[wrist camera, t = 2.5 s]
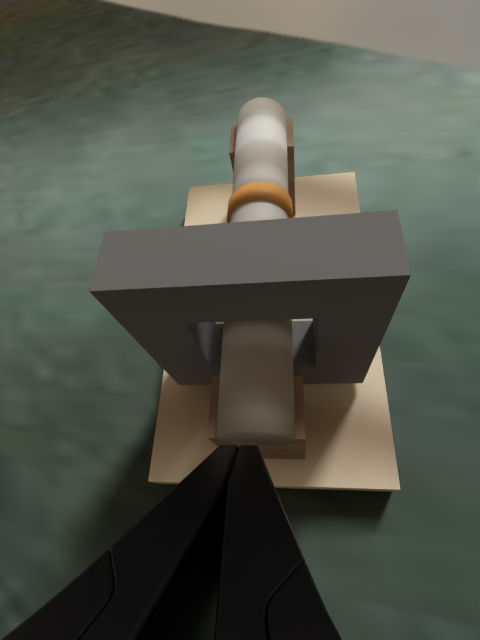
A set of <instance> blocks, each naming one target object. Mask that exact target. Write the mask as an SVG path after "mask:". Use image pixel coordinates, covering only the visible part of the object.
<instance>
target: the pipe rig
mask: <svg viewBox="0 0 480 640" xmlns="http://www.w3.org/2000/svg"><path fill="white" fill-rule="evenodd" d="M229 154H230V158H231V163H232V168H233V173H234V175H233V183H229V184H218V185H208V186H197V187H190V188H189V195H188V202H187V209H186V216H185V223H184V226H192V225H205V224H218V223H231V222H245V221H258V220H271V219H284V218H298V217H311V216H324V215H337V214H351V213H360V208H359V201H358V194H357V187H356V180H355V173H354V172H349V173H339V174H328V175H317V176H306V177H295V175H294V141H293V118H290V119H286V114H285V111H284V109H283V108H282V106H281V105H280V104H279V103H278V102H276V101H274V100H272V99H270V98H263V97H262V98H255V99H252V100H250V101H248V102H247V103H246V104H244V106H243V107H242V108H241V109H240V111H239V114H238V117H237V125H231V138H230V151H229ZM292 321H313V319H288V320H259V321H230V322H215V323H216V324H223V339H222V354H221V369H220V376H212V384H211V385H178V384H177V383H176V381H175V380H174V379H173V378H172V377H171V376H170V375H169V374H168V373H167V372H166V371H165V370H164V372H163V379H162V387H161V394H160V401H159V408H158V415H157V422H156V429H155V436H154V443H153V450H152V458H151V465H150V472H149V479H148V481H149V482H153V483H158V484H172V485H177V484H179V483H180V482H181V481H182V480H183V479H184V478H185V477H186V476H187V475H188V474H189V473H190V472H191V471H193V470H194V469H195V468H196V467H197V466H198V465H199V464H200V463H201V462H202V461H203V460H204V459H205V458H207V457H208V456H209V455H210V454H211V453H212V452H213V451H214V450H215V449H216V448H217V447H218V446H220V445H223V444H226V445H238V447H239V446H241V445H257V446H258V447H259V450H260V452H261V455H262V457H263V459H264V462H265V464H266V467H267V469H268V472H269V474H270V477H271V479H272V481H273V484H274V486H275V488H291V489H321V490H351V491H381V492H394V491H397V490H400V484H399V477H398V470H397V463H396V456H395V449H394V442H393V435H392V428H391V421H390V415H389V408H388V401H387V394H386V387H385V380H384V373H383V366H382V359H381V352H380V346H379V348H378V350H377V352H376V355H375V357H374V359H373V361H372V364H371V366H370V368H369V370H368V373H367V375H366V377H365V379H364V382H363V383H337V384H303V375H294V374H293V339H292Z"/></svg>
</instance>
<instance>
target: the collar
mask: <svg viewBox="0 0 480 640" xmlns="http://www.w3.org/2000/svg"><path fill="white" fill-rule="evenodd" d="M410 276H411V274H410V269H409V264H408V260H407V255H406V250H405V245H404V240H403V235H402V231H401V226H400V221H399V216H398V211H397V210H390V211H377V212H364V213H351V214H337V215H324V216H311V217H298V218H284V219H271V220H258V221H245V222H231V223H218V224H205V225H192V226H178V227H165V228H152V229H139V230H125V231H112V232H105V234H104V238H103V241H102V245H101V249H100V253H99V257H98V260H97V264H96V268H95V272H94V275H93V279H92V283H91V287H90V290H89V291H90V292H91V293H92V294H93V296H94V297H95V298H96V299H97V300H98V301H99V302H100V303H101V304H102V305H103V306H104V307H105V308H106V309H107V310H108V311H109V312H110V313H111V314H112V315H113V317H114V318H115V319H116V320H117V321H118V322H119V323H120V324H121V325H122V326H123V327H124V328H125V329H126V330H127V331H128V332H129V333H130V334H131V335H132V336H133V337H134V339H135V340H136V341H137V342H138V343H139V344H140V345H141V346H142V347H143V348H144V349H145V350H146V351H147V352H148V353H149V354H150V355H151V356H152V357H153V358H154V359H155V361H156V362H157V363H158V364H159V365H160V366H161V367H162V368H163V369H164V370H165V371H166V372H167V373H168V374H169V375H170V376H171V377H172V378H173V379H174V380H175V381H176V383H177V384H178V385H211V384H212V376H220V369H221V354H222V339H223V324H216V323H215V322H230V321H259V320H288V319H313V321H292V339H293V374H294V375H303V384H337V383H363V382H364V379H365V377H366V375H367V373H368V370H369V368H370V366H371V364H372V361H373V359H374V357H375V355H376V352H377V350H378V348H379V345H380V343H381V341H382V339H383V336H384V334H385V332H386V330H387V327H388V325H389V323H390V321H391V318H392V316H393V314H394V312H395V309H396V307H397V305H398V303H399V300H400V298H401V296H402V294H403V291H404V289H405V287H406V285H407V282H408V280H409V278H410Z"/></svg>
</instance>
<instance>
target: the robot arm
mask: <svg viewBox="0 0 480 640" xmlns="http://www.w3.org/2000/svg"><path fill="white" fill-rule="evenodd" d="M109 550H110V552H109V551H108V550H107V551H105V552H104V553H103V554H102V555H101V556H100V557H99V558H98V559H97V560H95V561H94V562H93V563H92V564H91V565H90V566H89V567H88V568H87V569H86V570H84V571H83V572H82V573H81V574H80V575H79V576H78V577H77V578H75V579H74V580H73V581H72V582H71V583H70V584H69V585H68V586H66V587H65V588H64V589H63V590H62V591H61V592H59V593H58V594H57V595H56V596H55V597H53V598H52V599H51V600H50V601H48V602H47V603H46V604H45V605H44V606H42V607H41V608H40V609H39V610H38V611H36V612H35V613H34V614H33V615H31V616H30V617H29V618H28V619H26V620H25V621H24V622H23V623H21V624H20V625H19V626H18V627H16V628H15V629H14V630H13V631H11V632H10V633H9V634H8V635H6V636H5V637H4V638H3V639H1V640H342V639H341V637H340V635H339V633H338V631H337V629H336V628H335V626H334V624H333V622H332V620H331V618H330V616H329V614H328V612H327V610H326V608H325V605H324V603H323V601H322V599H321V597H320V594H319V592H318V590H317V588H316V586H315V583H314V581H313V578H312V576H311V574H310V571H309V569H308V566H307V565H306V564H305V560H304V557H303V555H302V552H301V550H300V547H299V545H298V542H297V540H296V538H295V535H294V533H293V530H292V528H291V525H290V523H289V520H288V518H287V516H286V513H285V511H284V508H283V506H282V503H281V501H280V498H279V496H278V494H277V491H276V489H275V486H274V484H273V481H272V479H271V477H270V474H269V472H268V469H267V467H266V464H265V462H264V459H263V457H262V455H261V452H260V450H259V447H258V446H257V445H241V446H239V447H238V445H226V444H223V445H220V446H218V447H217V448H216V449H215V450H214V451H213V452H212V453H211V454H210V455H209V456H208V457H207V458H205V459H204V460H203V461H202V462H201V463H200V464H199V465H198V466H197V467H196V468H195V469H194V470H193V471H191V472H190V473H189V474H188V475H187V476H186V477H185V478H184V479H183V480H182V481H181V482H180V483H179V484H177V485H176V486H175V487H174V488H173V489H172V490H171V491H170V492H169V493H168V494H167V495H166V496H165V497H163V498H162V499H161V500H160V501H159V502H158V503H157V504H156V505H155V506H154V507H153V508H152V509H151V510H149V511H148V512H147V513H146V514H145V515H144V516H143V517H142V518H141V519H140V520H139V521H138V522H137V523H135V524H134V525H133V526H132V527H131V528H130V529H129V530H128V531H127V532H126V533H125V534H124V535H123V536H121V537H120V538H119V539H118V540H117V541H116V542H115V543H114V544H113V545H112V546H111V547H110V549H109Z"/></svg>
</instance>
